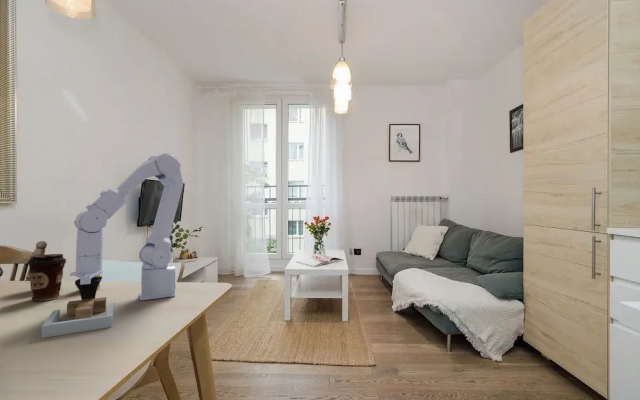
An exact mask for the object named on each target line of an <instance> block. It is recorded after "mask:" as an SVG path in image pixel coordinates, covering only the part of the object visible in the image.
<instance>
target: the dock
mask: <svg viewBox="0 0 640 400" xmlns="http://www.w3.org/2000/svg"><path fill="white" fill-rule="evenodd" d="M115 309H116V303H115V302H109V304H108V307H107V310H106V315H99V316H92V317H91V318H84V319H77V320H75V319H72V320H71V319H70V320H65V321H60V320H61V309H54V310H52V312H51V313H50V315H49V316H48V317H47V318H46V320H45V321H44V323H43V324H42V325H41V339H43V338H51V337H58V336H62V335H68V334H74V333H76V334H77V333H82V332H89V331H95V330H101V329H107V328H113V322H114V317H115V312H116V310H115Z"/></svg>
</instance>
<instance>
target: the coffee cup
mask: <svg viewBox="0 0 640 400" xmlns="http://www.w3.org/2000/svg"><path fill="white" fill-rule="evenodd" d="M30 256H31V257H30V259H29V260H28V261H27V262H26V264H27V265H28V267H29V268H28V269H29V270H28V274H29V282H30V283H29V284H30V290H31V292H32V297H31V301H33V302H42V301H50V300H51V301H52V300H57V299H59V298H61V296H60V291H61V287H62V281H63V276H64V268H65V266H64V264H65V265H66V263H67V259H66V258H64V254H63V253H49V254H35V255H30Z"/></svg>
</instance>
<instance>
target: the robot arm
mask: <svg viewBox="0 0 640 400" xmlns="http://www.w3.org/2000/svg"><path fill="white" fill-rule="evenodd" d="M152 177H155V178H156V179H158V180H159V182H160V183H161V185H162V186H163V190H162V194H161V197H160V201H159V204H158V208H157V210H156V211H157V212H156V215H155V219H154V222H153V225H152V230H151V233H150V235H149V236H148V237H147V239H146V241H145V243H144V245H143V247H142V248H141V249H140V250H139V254H138V256H139V257H138V258H139V260H140V261H141V262H142V265H141V279H140V280H141V282H140V283H141V288H140V292H139V301H147V300H155V299H164V298H171V297H172V298H173V297H175V296H176V288H177V287H176V266H175V265H169V263H170V262H171V260H172V250H171V248H172V241H171V239H170V236H171V232H172V229H173V225H174V221H175V216H176V215H177V214H176V212H177V210H178V207H179V202H180V199H181V195H182V191H183V186H184V180H183V175H182V172H181V163H180V162H179V160H178V159H177V158H176V156H175V155H173V154H171V153H167V152H166V153H162V154H159V155H153V156H150V157H149V158H148V159H147V160H145V161H144V162H142V163H141V164H139V166H137V168H136V169H135V170H133V171H132V172H131V173H130V174H129V175H128V177H126V178H125V179H124V181H122V182H121V183H120V184H119V185H118V186H117V187H116V188H109V189H107V190H102V191H101V192H100V193H99V195H100V196H98V198H97V199H96V200H94V202H92V203H91V204H88V205H86V206H85V209H87V210H84V211H81V212H80V213H78V214H77V215H76V217H75V220H74V221H73V222H74V226H75V228H76V229H77V232H76V241H75V243H76V250H75V253H76V254H75V271H71V272H70V273H69V276H71V277H73V276H75V277H77V279H76V280H75V281H74V285H75V286H76V288H77V290H78V292H79V294H80V298H81V299H80V300H85V299H93V298H96V295H97V292H98V291H97V290H98V289H97V288H98V285H99V283H100V284H101V281H102V279H103V276H102V274H103V273H104V269H103V246H104V245H103V241H104V238H103V228H106V226H107V221H108V220H110V219H111V218H112V217H113V216H114V215H115V214H116V213H117V212H118V211H119V210H120V209H121V208H123V207H124V205H125V204H126V203H127V196H128V195H129V194H130V193H132V192H133V191H134V190H135V189H136V188H137V187H139V185H141V184H142V183H143V182H144V181H145V180H147V179H148V178H152ZM97 275H100V276H97ZM95 276H96V277H95Z"/></svg>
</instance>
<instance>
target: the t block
mask: <svg viewBox="0 0 640 400" xmlns="http://www.w3.org/2000/svg"><path fill="white" fill-rule="evenodd" d="M106 311H107V296H103V297H95V298H93V299H85V300H81V299H78V300H69V301H68V303H66V317H72V316H74V317H75V318H74V320H77V319H84V318H91V317H94V316H93V315H94V313H95V314H96V313H102V312H106Z"/></svg>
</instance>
